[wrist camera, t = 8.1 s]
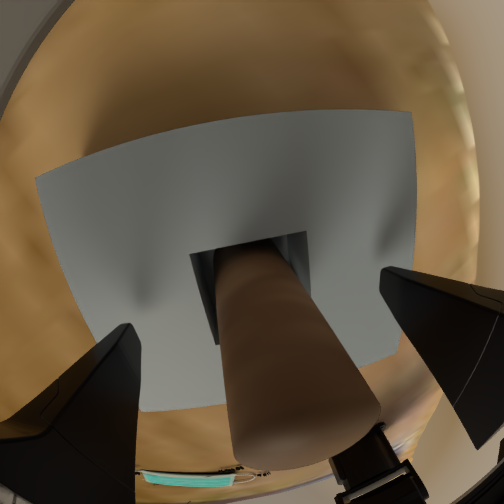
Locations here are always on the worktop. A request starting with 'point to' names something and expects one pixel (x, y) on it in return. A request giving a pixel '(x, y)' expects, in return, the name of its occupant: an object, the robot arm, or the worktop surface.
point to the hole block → (235, 232)
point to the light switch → (23, 37)
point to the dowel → (283, 365)
